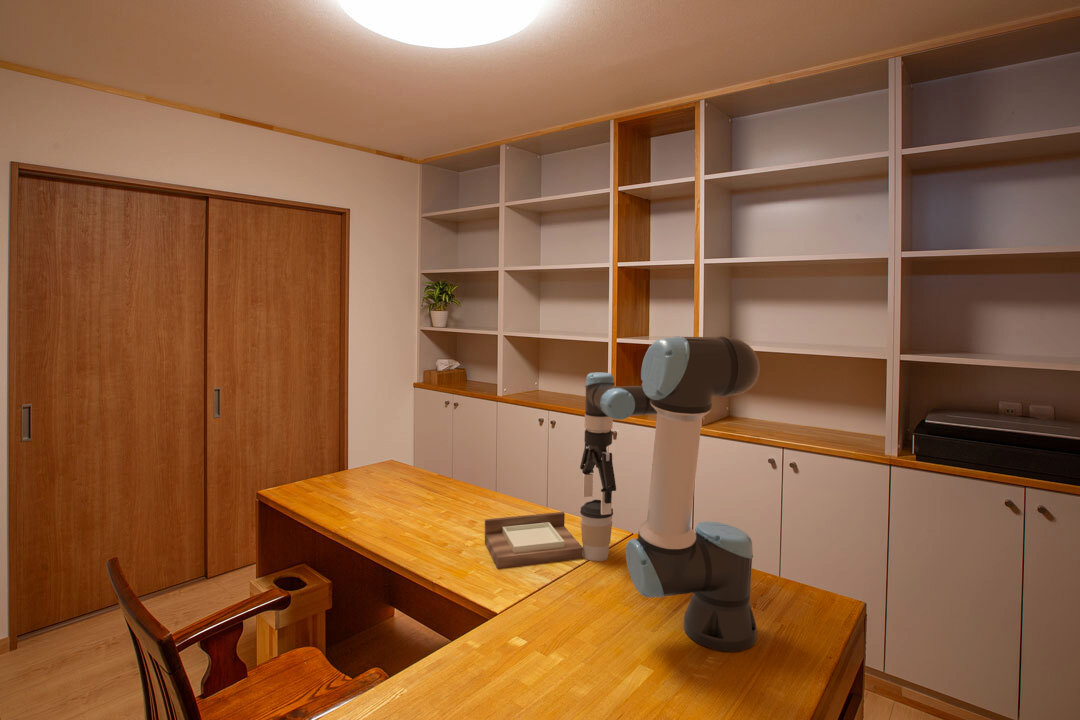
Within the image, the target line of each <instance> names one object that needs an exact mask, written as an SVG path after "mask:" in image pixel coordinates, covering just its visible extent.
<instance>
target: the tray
mask: <svg viewBox="0 0 1080 720" xmlns="http://www.w3.org/2000/svg"><path fill="white" fill-rule="evenodd" d="M502 533H503V535H504V537H505V538H506V540H507V542H508V544H509V545H510V547H511V549H512V551H513V552H514V553H521V552H530V551H539V550H548V549H556V548H564V540H563V539H562V538H561V536H560V535H559V534H558V533H557V531H556V530H555V529H554V528H553V526H552V525H551V524H550V523H549V522H546V523H536V524H526V525H516V526H506V527H502Z"/></svg>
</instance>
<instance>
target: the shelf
mask: <svg viewBox="0 0 1080 720" xmlns="http://www.w3.org/2000/svg"><path fill="white" fill-rule="evenodd" d="M565 519H566V518H565V512H564V511H560V512H559V511H557V512H547V513H538V514H527V515H517V516H506V517H497V518H496V517H495V518H487V519H484V544H485V546H486V548H487V550H488V552H489V555H490V556H491V558H492V560H493V562H494V564H495V567H496V568H497V569H504V568H505V569H506V568H512V567H520V566H529V565H530V566H531V565H537V564H545V563H554V562H560V561H561V562H562V561H564V562H565V561H568V560H569V561H571V560H578V559H579V560H580V559H583V558H584V556H583V545H582V544H581V543H580V542H579V541H578V540H577V539H576V538H575V537H574V536H573V534H572V533H571V531H569V530H568V529H567V527H566V525H565V522H566V521H565ZM546 522H549V523H550V524H551V525H552V526H553V528H554V529H555V530H556V531H557V533H558V534H559V535H560V536H561V538H562V539H563V540H564V548H556V549H548V550H539V551H530V552H521V553H514V552H513V551H512V549H511V547H510V545H509V544H508V542H507V540H506V538H505V537H504V535H503V533H502V527H506V526H516V525H526V524H536V523H546Z"/></svg>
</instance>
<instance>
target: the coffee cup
mask: <svg viewBox="0 0 1080 720" xmlns="http://www.w3.org/2000/svg"><path fill="white" fill-rule="evenodd" d="M579 511H580V512H579V513H580V516H581V517H580V527H581V530H580V531H581V543H582V547H583V558H584V559H585V560H588V561H591V562H604V561H606V560H608V558H609V550H610V544H611V537H612V536H611V535H612V527H613V515H614V510H613V508H612V507H611V514H606V515H601V499H592V501H591V500H590V501H587V502H585V503H584V504H583V505H582V506H580V510H579Z"/></svg>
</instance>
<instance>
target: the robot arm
mask: <svg viewBox="0 0 1080 720" xmlns="http://www.w3.org/2000/svg"><path fill="white" fill-rule="evenodd" d="M760 372H761V365H760V361H759V357H758V355H757V354H756V352H755V350H754V349H753V348H752V347H751V346H750V345H749V344H748V343H746V342H745V341H743V340H740V339H739V338H736V337H730V336H681V335H680V336H679V335H677V336H674V337H662V338H661V337H660V338H658V339H657V340H655V341H653V342H652V343H651V345H650V346H649V347H648V348H647V351H646V352H645V355H644V357H643V360H642V365H641V370H640V379H641V381H642V383H641V385H625V386H622V385H621V386H618V385H617V386H616V385H615V383H616V382H615V376H614V375H613V374H612V373H610V372H600V371H599V372H597V371H596V372H589V373H588V374H587V375H586V377H585V379H586V381H585V386H584V388H585V404H584V407H585V408H584V409H585V410H584V411H585V412H584V429H585V430H584V438H583V439H584V450H583V453H582V458H581V462H580V466H579V469H580V470H581V471H582V476H583V477H582V497H583V498H590V497H593V492H594V491H593V490H594V489H593V487H594V484H593V483H594V468H596V469H598V474H599V478H600V483H601V487H602V488H601V489H600V492H601V493H600V495H601V496H600V500H601V515H606V514H611V508H612V500H613V498H612V497H613V492H616V491H617V486H616V485H617V483H616V478H615V477H616V476H615V472H614V464H613V453H612V452H608V450H607V447H608V446H611V445H612V443H613V431H612V429H613V424H614V423H613V421H614V420H619V421H620V420H626V419H628V418H630V417H632V416H633V417H634V416H649V415H656V422H655V423H656V424H655V431H654V432H655V433H654V443H653V455H652V464H651V465H652V466H651V474H650V475H651V477H650V484H649V494H648V495H649V496H648V497H649V498H648V507H647V515H646V516H647V517H646V520H645V521H643V522H641V523H640V525H639V527H638V533H637V538H632V539H629V541H627V543H626V545H625V560H626V566H627V570H628V574H629V577H630V579H631V581H632V584H633V586H634V587H635V589H636V591H637V592H638V593H639V594H640V595H641V596H643V597H644V598H661V599H662V598H664V597H670V596H677V595H679V596H680V595H687V594H692V596H691V598H690V600H689V603H688V605H687V607H686V610H685V612H684V615H683V630H684V632H685V634H686V635H687V636H688V637H689V638H690V639H691V640H692V641H694V642H696V644H699V645H701V646H703V647H706V648H708V649H711V650H714V651H721V652H732V653H733V652H742V651H745V650H748V649H750V648H752V647H753V646H754V645H755V644H756V642H757V638H758V637H757V636H758V635H757V633H758V631H757V630H758V628H757V624H756V619H755V616H754V612H753V610H752V605H751V602H750V601H751V599H750V598H751V585H752V569H753V568H752V567H753V566H752V564H753V563H752V562H753V559H754V554H753V553H754V552H753V540H752V539H751V537H750V535H749V534H748V533H746V532H745V531H744V530H742V529H741V528H738V527H736V526H734V525H729V524H728V523H727V524H726V523H723V522H717V521H701V522H699V523H697V524H696V527H695V528H694V529H693V528H691V521H692V520H691V519H692V512H693V511H692V510H693V501H694V493H695V492H694V491H695V485H696V477H697V476H696V475H697V467H698V458H699V448H700V447H699V446H700V441H701V432H702V431H701V430H702V421H703V418H704V417H705V416H706V415H708V414H709V413H710V412H711V411H712V407H713V406H712V405H713V399H714V398H718V397H719V398H721V397H723V398H731V397H734V396H738V395H741V394H744V393H746V392H748V391H749V390H750V389H752V388H753V387H754V386H755V384H756V383H757V381H758V380H759V376H760Z"/></svg>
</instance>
